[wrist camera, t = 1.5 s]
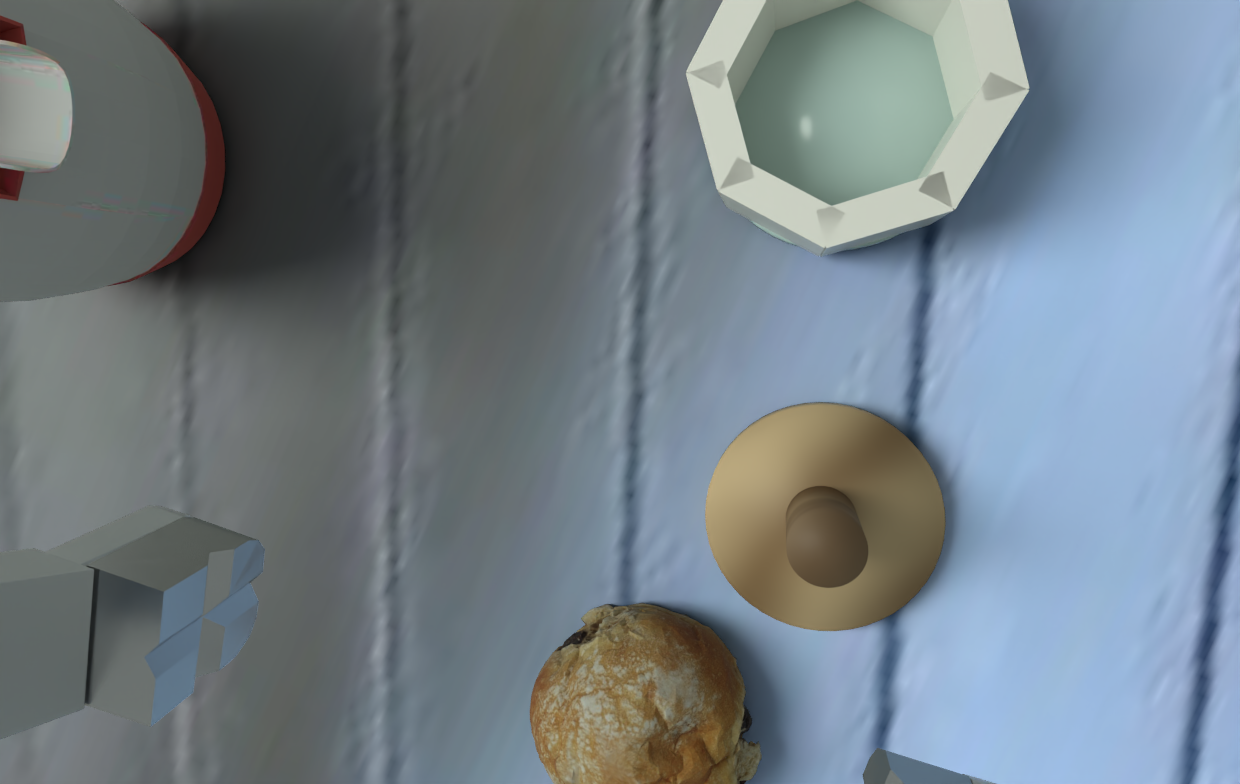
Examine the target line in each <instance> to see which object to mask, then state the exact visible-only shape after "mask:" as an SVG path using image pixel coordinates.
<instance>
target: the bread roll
mask: <svg viewBox="0 0 1240 784" xmlns="http://www.w3.org/2000/svg"><path fill="white" fill-rule="evenodd" d="M581 619H582V621H583V622H584V623H585V624H586V625H585V626H583V627H582V628H581V629H579V630H578V631H577V632H576V633H574V634H573V635H572V636H571V637H569V638H568V639H567V640H566V641H565V642H564V644H563V646H560V647H558V648H557V649H556V650H555V651H554V652H553V653H552V655H551V656H550V657H549V659H548V660H547V661H546V663H545V664H544V666H543V668H542V669H541V671H540V673H539V675H538V678H537V679H536V682H535V685H534V688H533V692H532V696H531V705H530V722H531V728H532V734H533V737H534V740H535V745H536V749H537V752H538V754H539V758H540V760H541V762H542V763H543V764H544V767H545V769H546V771H547V773H548V775H549V776H550V778H551V780H552V781H553V783H554V784H744V783H745V782H746V781H747V780H751V779H752V777H753V776H754V775H755V773H756V771H757V766H758V764H759V761H760V760H761V757H762V754H761V752H760V744H759V741H758V742H757V744H755V743H753V742H752V741H750V742H749V744H748V743H747V741H746V740H745V739H744V738H742V735H743V733H745V732H747V731H748V730H749V728H750V726H751V724H752V718H751V716H750V714H749V711H748V709H747V708H746V707H745V706H744V705H743V701H744V697H745V694H746V691H745V685H744V682H743V678H742V675H741V673H740V671H739V669H738V667H737V664H736V662H737V660H736V658H735V657H733V656H732V654H731V652H730V651H729V650H728V648H727V647H726V646H725V644H724V643H723V642H722V640H721V639H720V638H719V637H718V636H717V635H716V634H715V633H714V632H713V630H712V629H711V628H709V627H708V626H704V625H702V624H700V623H699V622H698V621H695V620H694V619H691V618H689V617H688V616H687V615H682V614H678V613H675V612H672V611H669V610H667V609H665V608H662V607H659V606H655V605H650V604H645V603H639V604H633V605H628V606H618V607H614V608H613V607H612V606H611V605H609V604H605V605H603V606H600V607H597V608H594V609H592V610H590V611H588V612H587V613H586V614H585V615H584V616H583V617H582V618H581ZM725 757H726V758H725Z"/></svg>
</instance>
